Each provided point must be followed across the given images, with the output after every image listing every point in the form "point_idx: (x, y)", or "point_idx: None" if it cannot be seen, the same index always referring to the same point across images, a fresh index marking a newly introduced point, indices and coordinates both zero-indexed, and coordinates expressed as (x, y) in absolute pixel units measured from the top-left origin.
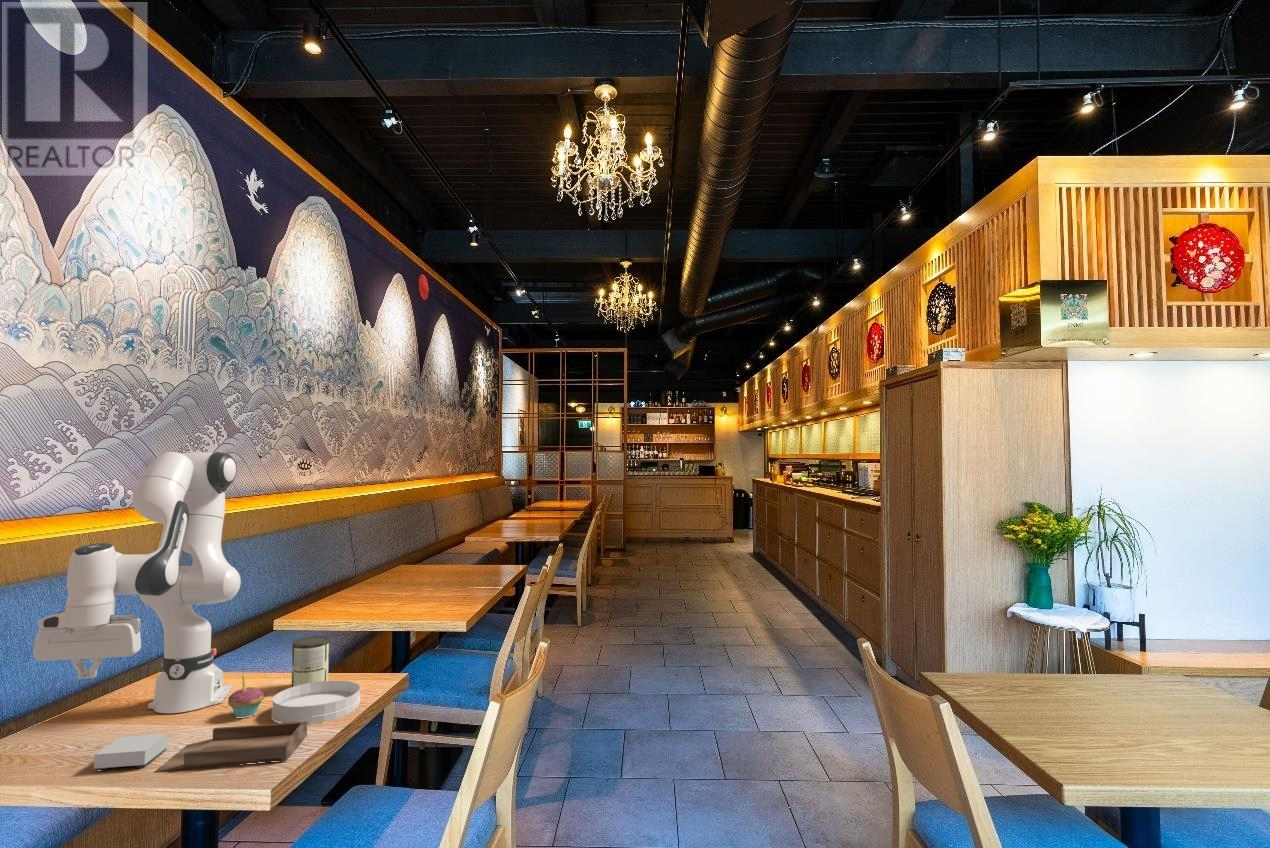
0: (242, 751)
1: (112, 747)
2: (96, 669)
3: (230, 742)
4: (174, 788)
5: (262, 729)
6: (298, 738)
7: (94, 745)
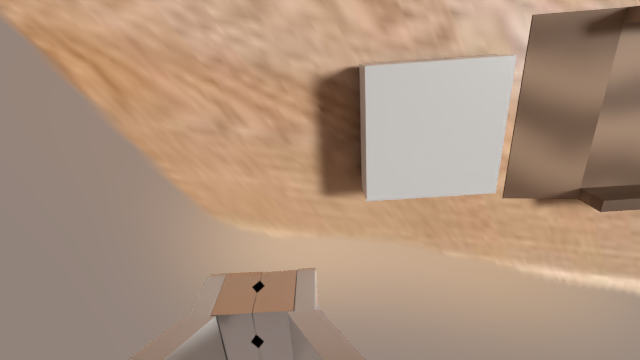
0: None
1: (388, 157)
2: (316, 310)
3: None
4: (572, 272)
5: None
6: None
7: None
